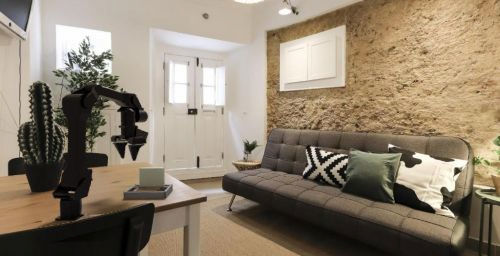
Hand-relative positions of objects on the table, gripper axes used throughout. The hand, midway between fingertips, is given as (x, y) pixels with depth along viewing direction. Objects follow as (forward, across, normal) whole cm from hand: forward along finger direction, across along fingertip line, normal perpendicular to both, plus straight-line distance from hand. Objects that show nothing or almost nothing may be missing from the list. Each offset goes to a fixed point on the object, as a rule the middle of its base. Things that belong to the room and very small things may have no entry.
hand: (128, 159), depth 113 cm
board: (+13, -9, -5) cm, 17 cm away
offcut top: (+12, -12, -1) cm, 17 cm away
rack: (+14, -11, -3) cm, 18 cm away
